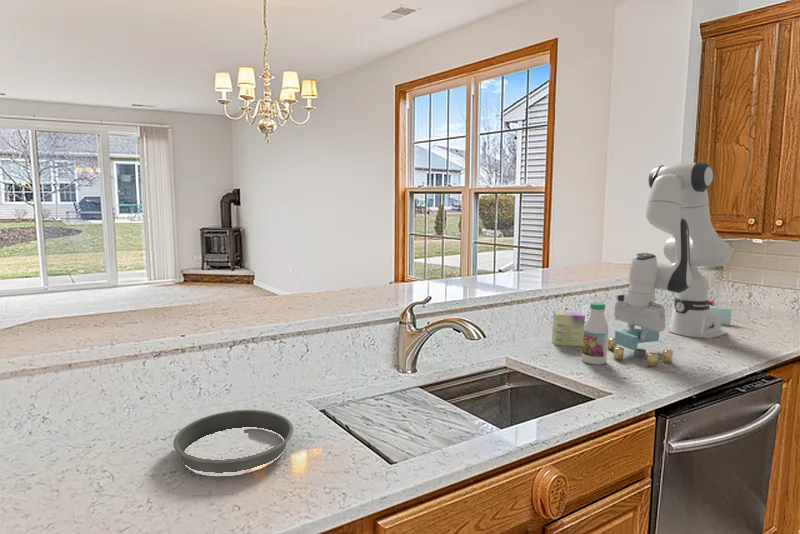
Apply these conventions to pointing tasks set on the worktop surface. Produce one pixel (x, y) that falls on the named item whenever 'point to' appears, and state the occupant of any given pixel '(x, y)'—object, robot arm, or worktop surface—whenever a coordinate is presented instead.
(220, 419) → the dark grey ring
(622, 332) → the hook tool
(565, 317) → the box
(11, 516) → the worktop surface
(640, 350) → the nut
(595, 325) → the milk bottle
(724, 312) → the l-shaped corner panel
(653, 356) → the brass spacers
